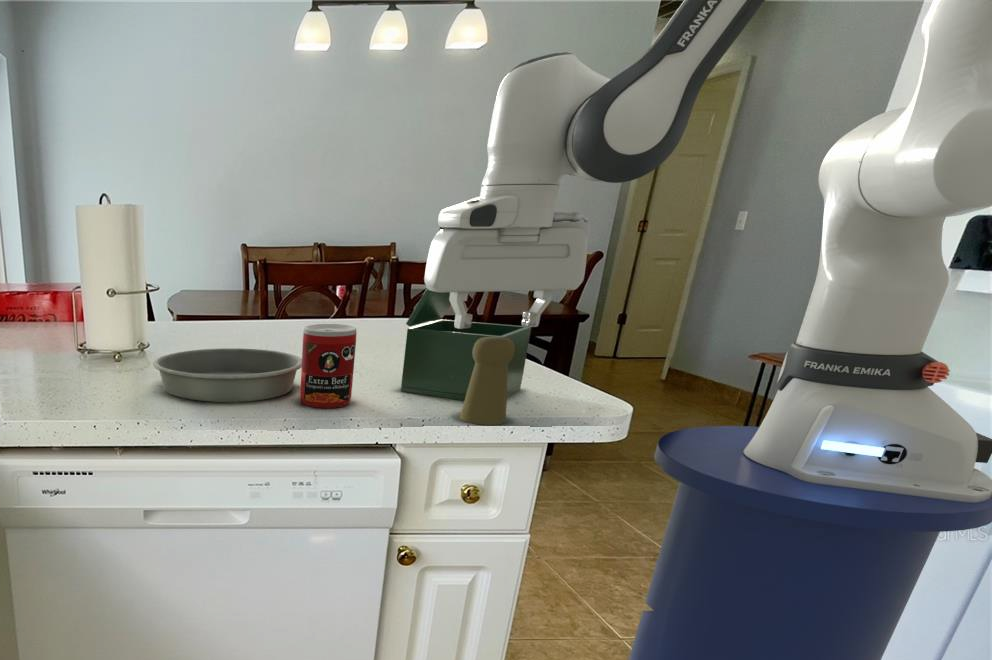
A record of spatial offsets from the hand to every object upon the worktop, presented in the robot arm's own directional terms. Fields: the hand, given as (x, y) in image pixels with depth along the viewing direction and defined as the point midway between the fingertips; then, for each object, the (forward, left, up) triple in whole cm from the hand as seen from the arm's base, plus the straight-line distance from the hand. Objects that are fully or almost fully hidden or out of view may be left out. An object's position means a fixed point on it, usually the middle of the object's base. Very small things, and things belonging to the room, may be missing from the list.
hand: (495, 327), depth 93 cm
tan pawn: (0, 0, -13) cm, 13 cm away
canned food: (+22, +5, -13) cm, 26 cm away
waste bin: (+9, -15, -12) cm, 21 cm away
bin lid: (+12, -15, +5) cm, 20 cm away
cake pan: (+40, +6, -13) cm, 42 cm away
